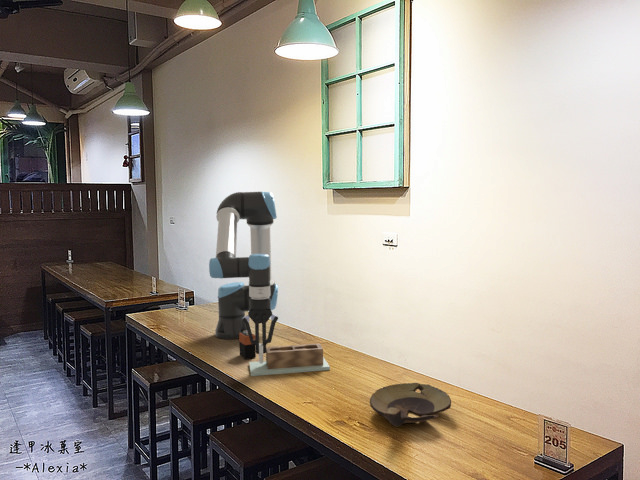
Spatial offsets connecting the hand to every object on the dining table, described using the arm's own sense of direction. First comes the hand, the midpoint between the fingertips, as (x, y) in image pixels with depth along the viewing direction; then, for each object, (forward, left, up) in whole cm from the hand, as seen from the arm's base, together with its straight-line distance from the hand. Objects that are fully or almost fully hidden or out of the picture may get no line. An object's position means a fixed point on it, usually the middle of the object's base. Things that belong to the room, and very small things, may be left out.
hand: (261, 362), depth 192 cm
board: (0, +10, -3) cm, 10 cm away
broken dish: (+50, +36, -3) cm, 61 cm away
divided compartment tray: (0, +12, -2) cm, 12 cm away
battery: (-17, -4, -3) cm, 18 cm away
